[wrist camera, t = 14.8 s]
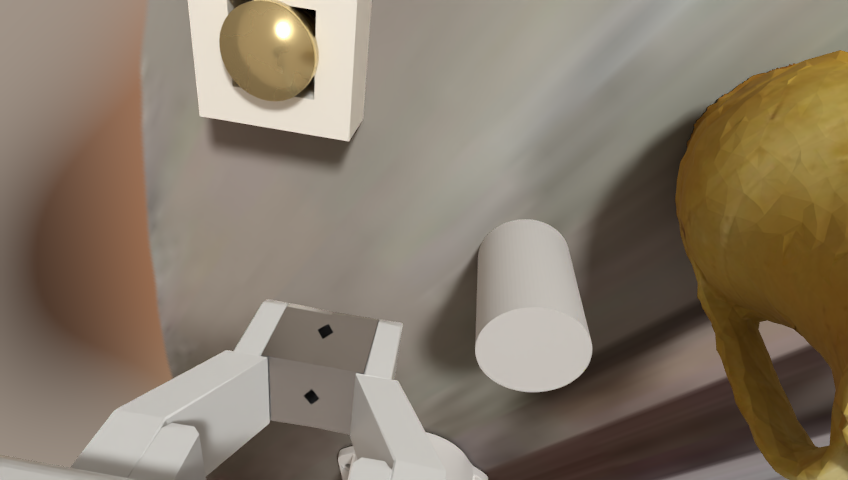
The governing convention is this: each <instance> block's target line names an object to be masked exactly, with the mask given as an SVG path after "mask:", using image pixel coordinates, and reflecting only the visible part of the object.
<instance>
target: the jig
mask: <svg viewBox="0 0 848 480" xmlns="http://www.w3.org/2000/svg"><path fill="white" fill-rule="evenodd" d="M249 1H253V0H188V7H189V17H190V27H191V36H192V46H193V55H194V65H195V75H196V84H197V94H198V103H199V113H200V116H202V117H208V118H213V119H219V120H225V121H231V122H237V123H243V124H249V125H255V126H261V127H267V128H272V129H278V130H284V131H290V132H296V133H302V134H308V135H314V136H320V137H326V138H332V139H337V140H343V141H350V139H351V137H352V136H353V134H354V133H355V131H356V130H357V128H358V127H359V125H360V123H361V122H362V120H363V117H364V103H365V89H366V76H367V62H368V49H369V35H370V21H371V8H372V0H278V1H280V2H283V3H285V4H287V5H289V6H293V7H299V8H305V9H311V10H316V35H315V38H316V41H317V45H318V51H319V61H318V67H317V71H316V73H315V78H313V79H312V81H311V82H310V83H309V85H308V86H307V87H306V88H305V89H303V90H302V91H301V92H300V93H299V94H297V95H296V96H294V97H292V98H290V99H287V100H284V101H267V100H262V99H259V98H257V97H255V96H253V95H251V94H249V93H247V92H246V91H245V90H243V89H242V88H241V87H240V86H239V85H238V84H237V83H236V82H235V81H234V80H233V79H232V77H231V76H230V74H229V73H228V71H227V69H226V67H225V65H224V63H223V60H222V57H221V53H220V46H219V38H220V31H221V27H222V25H223V22H224V20H225V19H226V17H227V16H228V14H229V13H230V12H231V11H232V10H233V9H235V8H236V7H238V6H239V5H241V4H244V3H246V2H249Z"/></svg>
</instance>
